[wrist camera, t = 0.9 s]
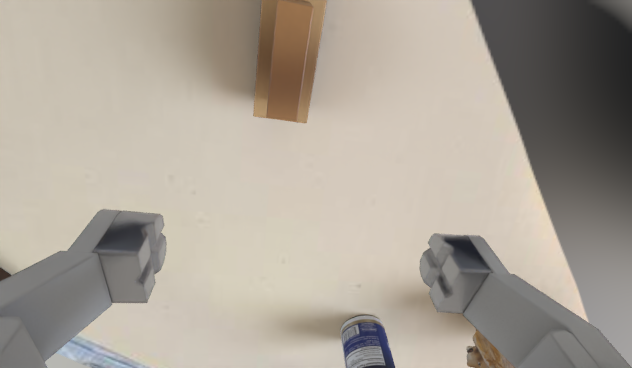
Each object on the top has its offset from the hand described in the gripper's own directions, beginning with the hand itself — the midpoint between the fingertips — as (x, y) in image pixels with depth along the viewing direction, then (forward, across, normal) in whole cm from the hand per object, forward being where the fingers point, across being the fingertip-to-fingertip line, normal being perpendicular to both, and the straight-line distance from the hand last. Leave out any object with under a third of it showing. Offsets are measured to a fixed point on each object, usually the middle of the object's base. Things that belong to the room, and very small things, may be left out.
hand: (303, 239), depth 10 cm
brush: (+16, +1, -2) cm, 16 cm away
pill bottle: (+16, -12, +28) cm, 35 cm away
